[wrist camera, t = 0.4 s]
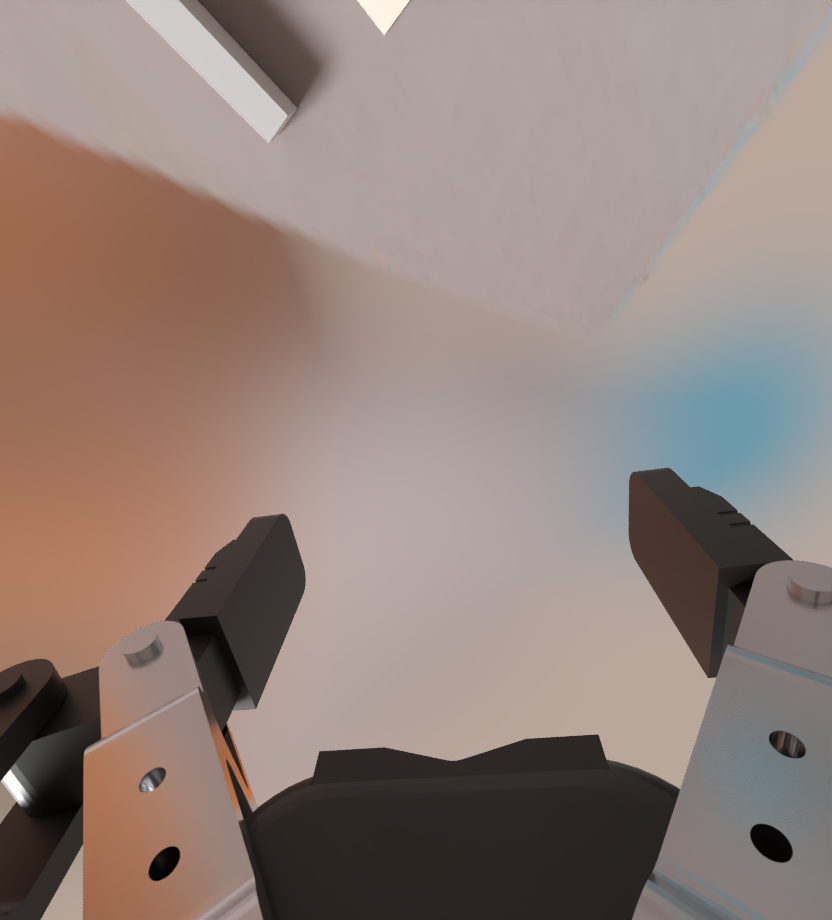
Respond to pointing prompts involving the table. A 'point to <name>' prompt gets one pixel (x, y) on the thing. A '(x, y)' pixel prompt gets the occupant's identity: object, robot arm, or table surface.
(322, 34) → the table surface
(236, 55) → the wall
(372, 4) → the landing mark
